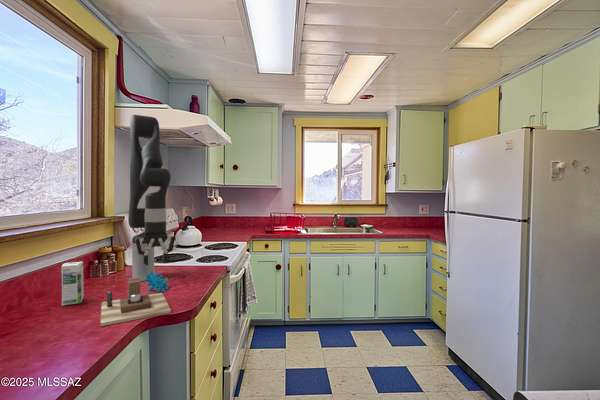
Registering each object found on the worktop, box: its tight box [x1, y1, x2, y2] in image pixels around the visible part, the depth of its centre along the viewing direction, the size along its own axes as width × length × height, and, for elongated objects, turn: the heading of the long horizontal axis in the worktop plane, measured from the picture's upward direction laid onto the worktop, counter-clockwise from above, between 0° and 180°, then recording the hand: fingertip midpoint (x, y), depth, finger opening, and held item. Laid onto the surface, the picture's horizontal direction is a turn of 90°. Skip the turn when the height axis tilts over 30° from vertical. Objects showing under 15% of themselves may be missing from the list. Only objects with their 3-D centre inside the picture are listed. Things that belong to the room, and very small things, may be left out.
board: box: [100, 292, 172, 327], centre depth 105 cm, size 20×20×1 cm
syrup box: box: [61, 261, 84, 306], centre depth 110 cm, size 6×6×14 cm
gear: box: [145, 272, 169, 293], centre depth 124 cm, size 11×6×10 cm
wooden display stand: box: [119, 277, 151, 313], centre depth 107 cm, size 14×9×8 cm, turn 33°
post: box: [130, 293, 141, 304], centre depth 105 cm, size 3×3×4 cm
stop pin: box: [106, 290, 113, 307], centre depth 104 cm, size 2×2×5 cm
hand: (155, 263), depth 115 cm, fingers open, 5 cm apart
